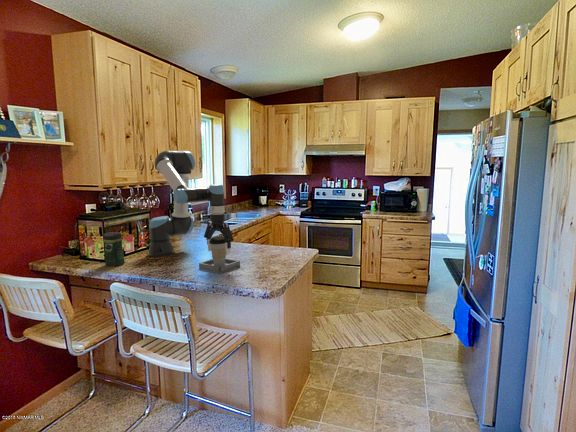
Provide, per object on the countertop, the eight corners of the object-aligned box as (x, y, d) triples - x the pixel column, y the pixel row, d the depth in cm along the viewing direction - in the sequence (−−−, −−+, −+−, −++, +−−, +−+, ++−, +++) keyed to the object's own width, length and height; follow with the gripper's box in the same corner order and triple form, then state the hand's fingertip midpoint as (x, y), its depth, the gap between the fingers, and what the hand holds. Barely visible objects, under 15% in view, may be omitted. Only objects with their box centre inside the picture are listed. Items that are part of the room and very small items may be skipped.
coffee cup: (224, 268, 182) (223, 240, 180) (207, 267, 184) (206, 240, 182) (230, 263, 191) (229, 237, 189) (214, 262, 193) (213, 236, 191)
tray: (199, 268, 186) (198, 263, 186) (219, 261, 198) (219, 256, 198) (220, 273, 177) (219, 267, 177) (240, 266, 189) (239, 261, 189)
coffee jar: (127, 263, 198) (124, 231, 195) (116, 267, 191) (113, 234, 188) (113, 261, 201) (110, 230, 198) (102, 265, 193) (99, 233, 191)
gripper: (196, 212, 187) (198, 250, 190) (229, 216, 173) (230, 257, 176) (206, 211, 193) (208, 247, 197) (239, 214, 179) (240, 254, 183)
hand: (219, 252), depth 186 cm, fingers open, 13 cm apart
